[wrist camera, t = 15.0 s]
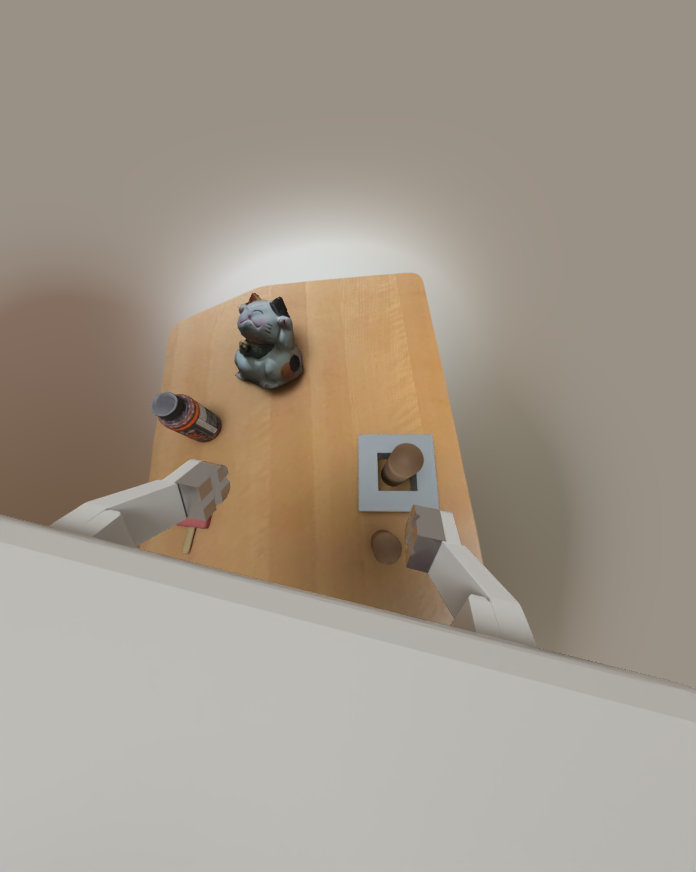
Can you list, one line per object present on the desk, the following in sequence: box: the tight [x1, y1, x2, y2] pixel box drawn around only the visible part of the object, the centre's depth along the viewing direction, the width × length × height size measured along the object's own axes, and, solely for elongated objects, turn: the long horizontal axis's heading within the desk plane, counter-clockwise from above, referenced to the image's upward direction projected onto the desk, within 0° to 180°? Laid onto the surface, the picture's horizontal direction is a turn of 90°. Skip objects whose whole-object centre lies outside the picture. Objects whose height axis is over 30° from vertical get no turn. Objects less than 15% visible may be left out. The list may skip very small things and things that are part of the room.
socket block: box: [358, 435, 439, 512], centre depth 42 cm, size 12×12×5 cm
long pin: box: [381, 443, 424, 486], centre depth 37 cm, size 4×4×14 cm
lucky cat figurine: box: [235, 293, 303, 389], centre depth 46 cm, size 15×12×14 cm
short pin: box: [371, 530, 402, 564], centre depth 38 cm, size 4×4×6 cm
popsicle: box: [176, 515, 212, 554], centre depth 43 cm, size 5×2×15 cm
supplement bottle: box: [151, 392, 221, 442], centre depth 43 cm, size 6×6×11 cm
